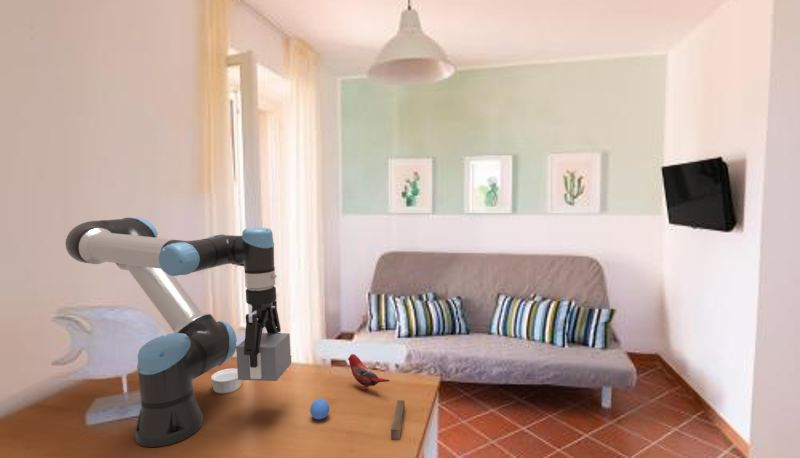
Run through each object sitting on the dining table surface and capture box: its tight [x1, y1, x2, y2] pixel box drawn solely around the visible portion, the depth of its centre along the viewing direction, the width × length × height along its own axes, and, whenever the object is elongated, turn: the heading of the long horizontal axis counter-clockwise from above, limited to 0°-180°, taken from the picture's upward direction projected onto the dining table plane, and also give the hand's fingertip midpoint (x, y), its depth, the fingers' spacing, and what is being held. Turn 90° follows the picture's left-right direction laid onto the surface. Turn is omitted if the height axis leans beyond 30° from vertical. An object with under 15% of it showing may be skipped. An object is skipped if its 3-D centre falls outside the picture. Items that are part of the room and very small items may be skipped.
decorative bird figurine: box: [347, 353, 391, 392], centre depth 125 cm, size 3×18×10 cm, turn 49°
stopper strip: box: [390, 399, 406, 441], centre depth 108 cm, size 2×14×2 cm, turn 174°
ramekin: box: [210, 368, 242, 394], centre depth 130 cm, size 9×9×4 cm
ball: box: [309, 398, 330, 420], centre depth 111 cm, size 5×5×5 cm
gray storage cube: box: [235, 332, 292, 382], centre depth 111 cm, size 10×10×9 cm
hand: (265, 368), depth 112 cm, fingers closed on gray storage cube, 10 cm apart
